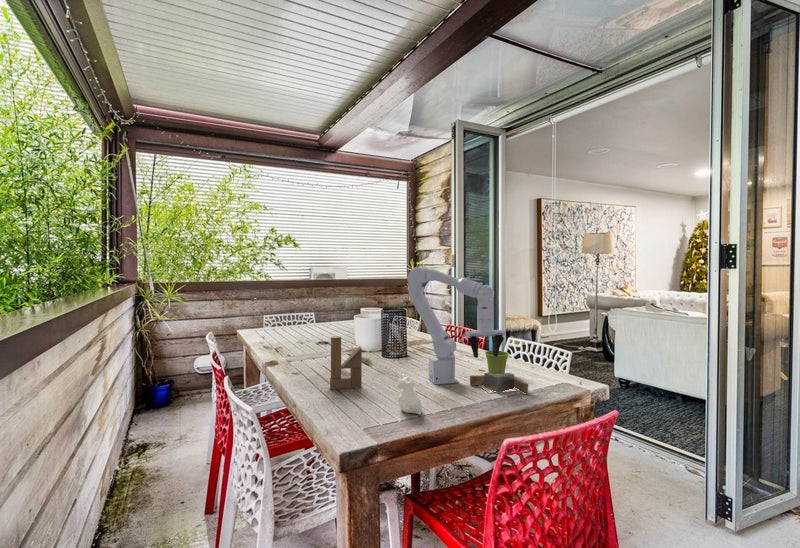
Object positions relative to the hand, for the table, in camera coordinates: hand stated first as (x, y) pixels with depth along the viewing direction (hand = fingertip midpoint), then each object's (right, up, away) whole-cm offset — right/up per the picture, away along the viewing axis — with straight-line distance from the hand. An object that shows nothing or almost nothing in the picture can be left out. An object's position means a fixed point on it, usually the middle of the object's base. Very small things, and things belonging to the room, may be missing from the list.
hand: (485, 356), depth 147 cm
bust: (-28, -11, -26) cm, 40 cm away
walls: (+3, -11, -4) cm, 12 cm away
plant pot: (+7, -10, +15) cm, 19 cm away
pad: (+3, -11, -4) cm, 12 cm away
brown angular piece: (-50, -10, -3) cm, 51 cm away
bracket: (+4, -10, -4) cm, 12 cm away
